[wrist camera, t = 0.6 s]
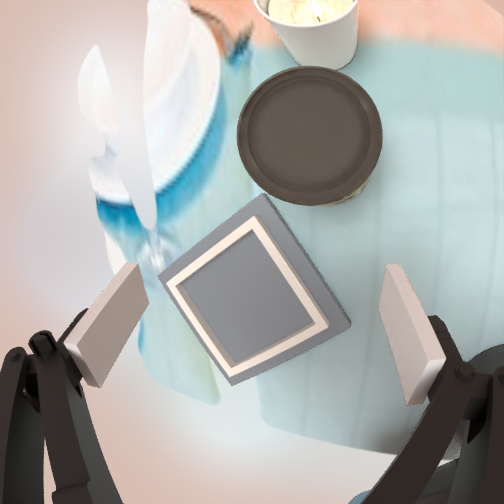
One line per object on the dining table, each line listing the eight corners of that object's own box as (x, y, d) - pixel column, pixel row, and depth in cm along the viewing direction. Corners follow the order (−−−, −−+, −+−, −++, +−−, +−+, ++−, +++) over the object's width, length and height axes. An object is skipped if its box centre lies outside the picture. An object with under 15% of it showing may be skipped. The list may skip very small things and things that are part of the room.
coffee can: (385, 138, 30) (402, 96, 17) (350, 221, 33) (346, 231, 20) (301, 104, 33) (268, 50, 19) (268, 183, 35) (214, 171, 22)
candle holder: (378, 44, 28) (381, -15, 17) (326, 93, 32) (311, 45, 20) (317, 4, 29) (298, -54, 18) (267, 49, 33) (231, -1, 21)
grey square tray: (350, 322, 35) (350, 332, 32) (235, 380, 41) (227, 391, 38) (265, 193, 36) (257, 192, 33) (163, 273, 42) (150, 278, 39)
